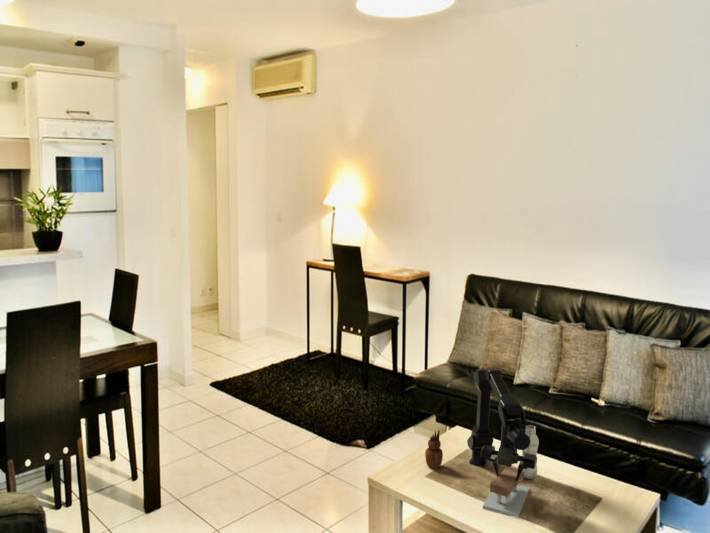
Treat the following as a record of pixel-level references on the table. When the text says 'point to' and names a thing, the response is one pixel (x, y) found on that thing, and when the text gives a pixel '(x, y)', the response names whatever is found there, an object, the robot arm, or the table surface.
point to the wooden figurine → (434, 452)
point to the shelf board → (506, 481)
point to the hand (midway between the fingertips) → (507, 479)
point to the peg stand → (507, 501)
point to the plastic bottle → (531, 450)
